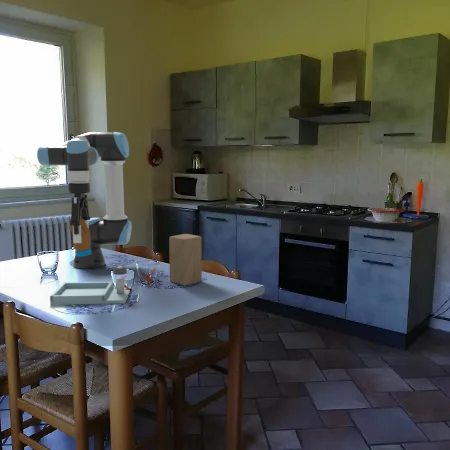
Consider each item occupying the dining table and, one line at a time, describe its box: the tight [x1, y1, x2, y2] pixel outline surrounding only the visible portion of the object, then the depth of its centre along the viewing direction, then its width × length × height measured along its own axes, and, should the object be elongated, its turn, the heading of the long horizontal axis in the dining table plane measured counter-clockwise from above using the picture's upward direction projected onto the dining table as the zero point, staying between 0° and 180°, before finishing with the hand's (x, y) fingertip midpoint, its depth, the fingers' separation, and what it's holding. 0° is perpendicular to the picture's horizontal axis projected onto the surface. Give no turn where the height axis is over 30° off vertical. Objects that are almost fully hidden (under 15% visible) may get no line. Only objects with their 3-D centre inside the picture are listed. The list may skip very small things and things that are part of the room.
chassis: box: [49, 277, 131, 306], centre depth 175 cm, size 18×27×7 cm, turn 94°
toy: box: [68, 218, 91, 257], centre depth 172 cm, size 12×7×15 cm, turn 168°
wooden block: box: [168, 233, 203, 286], centre depth 195 cm, size 10×10×20 cm
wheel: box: [112, 265, 127, 276], centre depth 175 cm, size 5×5×2 cm
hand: (81, 239), depth 172 cm, fingers closed on toy, 11 cm apart
